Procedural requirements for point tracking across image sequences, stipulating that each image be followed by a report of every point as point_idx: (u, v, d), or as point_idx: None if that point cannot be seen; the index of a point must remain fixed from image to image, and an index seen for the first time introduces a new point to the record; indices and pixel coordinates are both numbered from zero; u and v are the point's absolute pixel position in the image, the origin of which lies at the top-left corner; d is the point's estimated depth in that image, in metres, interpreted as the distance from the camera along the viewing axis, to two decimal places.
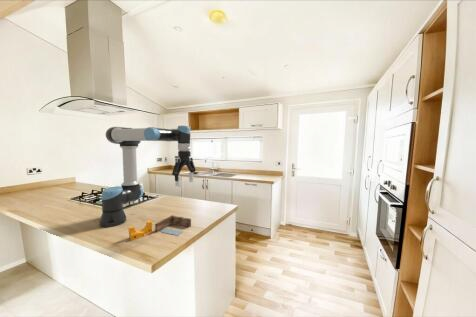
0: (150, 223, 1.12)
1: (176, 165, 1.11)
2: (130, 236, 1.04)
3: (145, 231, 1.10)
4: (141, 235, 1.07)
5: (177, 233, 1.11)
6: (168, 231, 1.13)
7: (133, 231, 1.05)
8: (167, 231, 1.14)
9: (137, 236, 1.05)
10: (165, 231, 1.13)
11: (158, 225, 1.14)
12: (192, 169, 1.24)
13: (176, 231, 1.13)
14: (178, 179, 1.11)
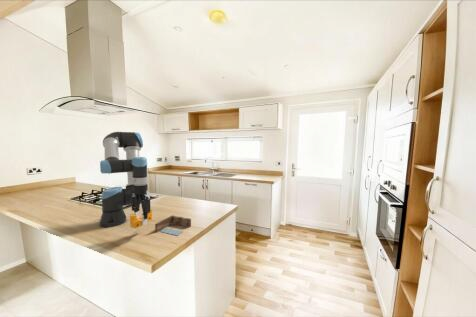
0: (150, 211, 1.13)
1: None
2: (132, 224, 1.04)
3: None
4: None
5: (177, 233, 1.11)
6: (168, 231, 1.13)
7: (135, 219, 1.05)
8: (167, 231, 1.14)
9: (139, 224, 1.06)
10: (165, 231, 1.13)
11: (158, 225, 1.14)
12: (143, 210, 1.06)
13: (176, 231, 1.13)
14: None
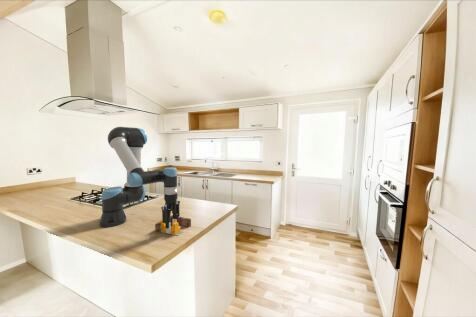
0: None
1: (164, 213, 1.07)
2: (177, 230, 1.11)
3: None
4: None
5: None
6: None
7: None
8: None
9: None
10: None
11: (158, 225, 1.14)
12: (176, 215, 1.15)
13: None
14: (169, 226, 1.10)
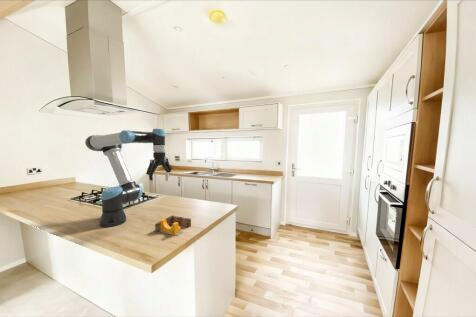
0: None
1: (150, 165, 1.19)
2: (177, 230, 1.11)
3: None
4: None
5: None
6: None
7: None
8: None
9: None
10: None
11: (158, 225, 1.14)
12: (168, 169, 1.32)
13: None
14: (152, 178, 1.20)
